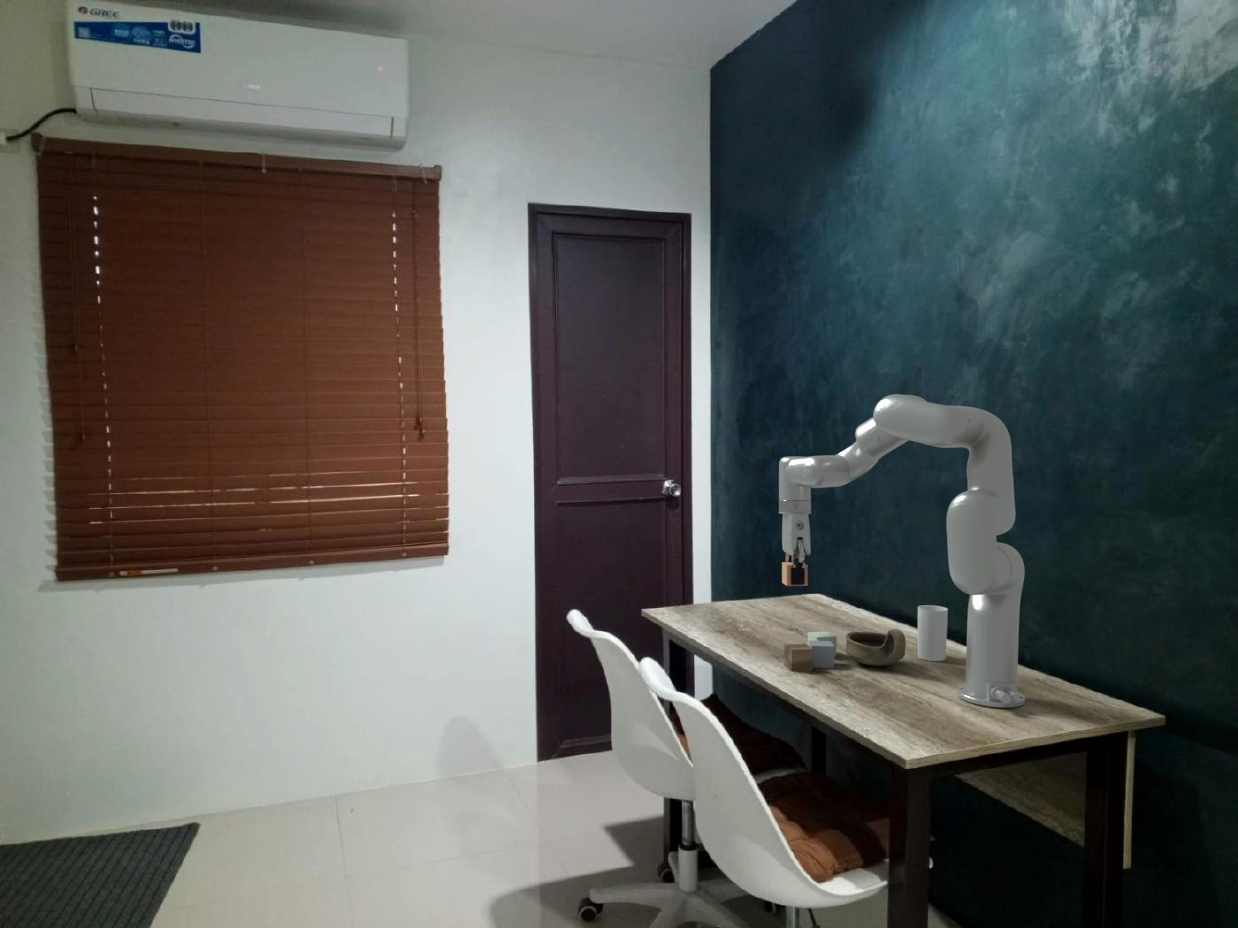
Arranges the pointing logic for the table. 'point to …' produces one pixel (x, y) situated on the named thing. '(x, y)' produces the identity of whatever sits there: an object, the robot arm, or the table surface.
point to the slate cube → (822, 654)
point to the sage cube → (822, 638)
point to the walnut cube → (798, 657)
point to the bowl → (876, 647)
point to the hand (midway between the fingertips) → (794, 581)
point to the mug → (932, 632)
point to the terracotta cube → (787, 574)
